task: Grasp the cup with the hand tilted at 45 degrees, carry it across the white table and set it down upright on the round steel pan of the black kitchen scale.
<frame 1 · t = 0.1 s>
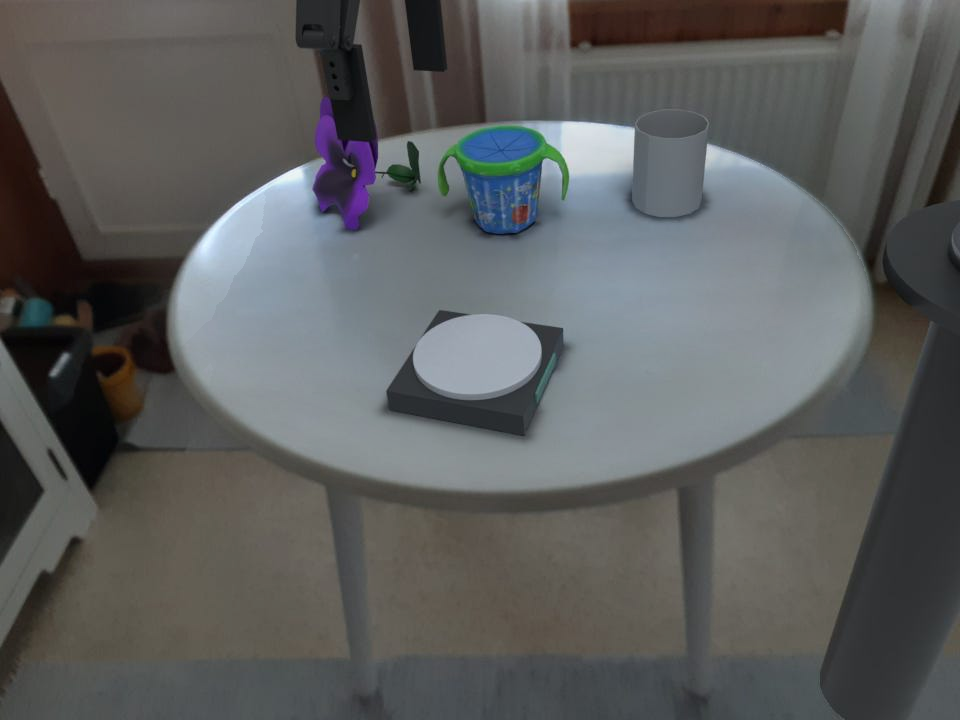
hand: (396, 102, 64), 27 cm above the table, tool pointing down, fingers open, 13 cm apart
scale: (479, 377, 80), on the table
cup: (666, 202, 105), on the table
flower: (377, 204, 110), on the table
snack cup: (505, 222, 104), on the table
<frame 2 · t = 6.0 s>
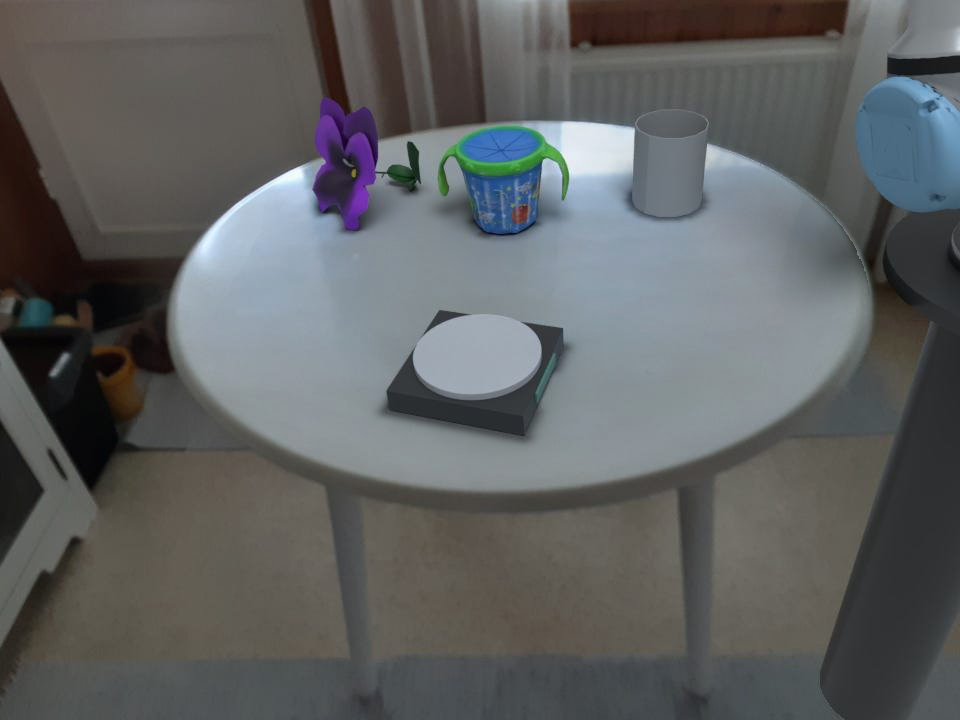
nothing on the table moved.
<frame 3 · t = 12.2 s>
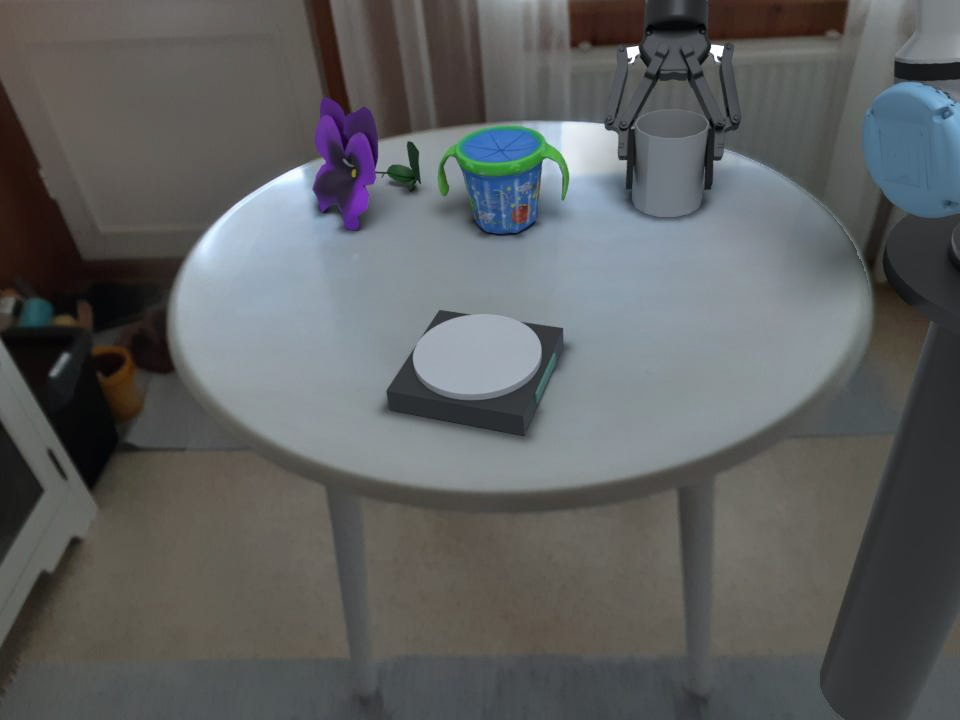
hand: (668, 186, 100), 4 cm above the table, tool tilted 45°, fingers closed on cup, 8 cm apart
cup: (666, 202, 105), on the table, touching gripper
everything else where it was.
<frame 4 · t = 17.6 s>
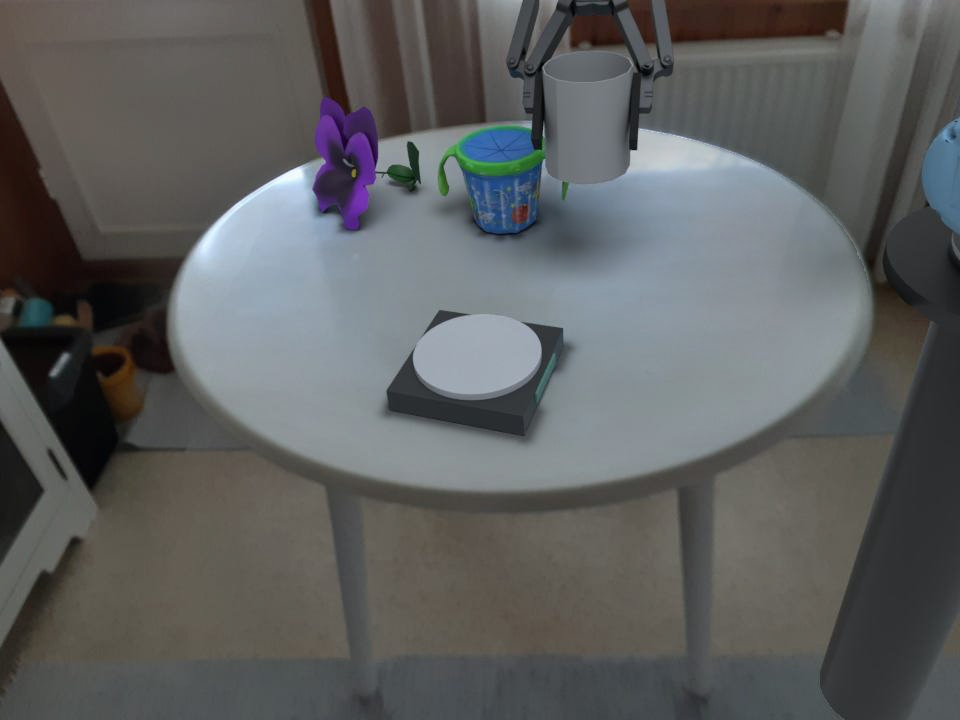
hand: (584, 144, 80), 17 cm above the table, tool tilted 45°, fingers closed on cup, 8 cm apart
cup: (587, 167, 85), point 13 cm above the table, touching gripper
everything else where it was.
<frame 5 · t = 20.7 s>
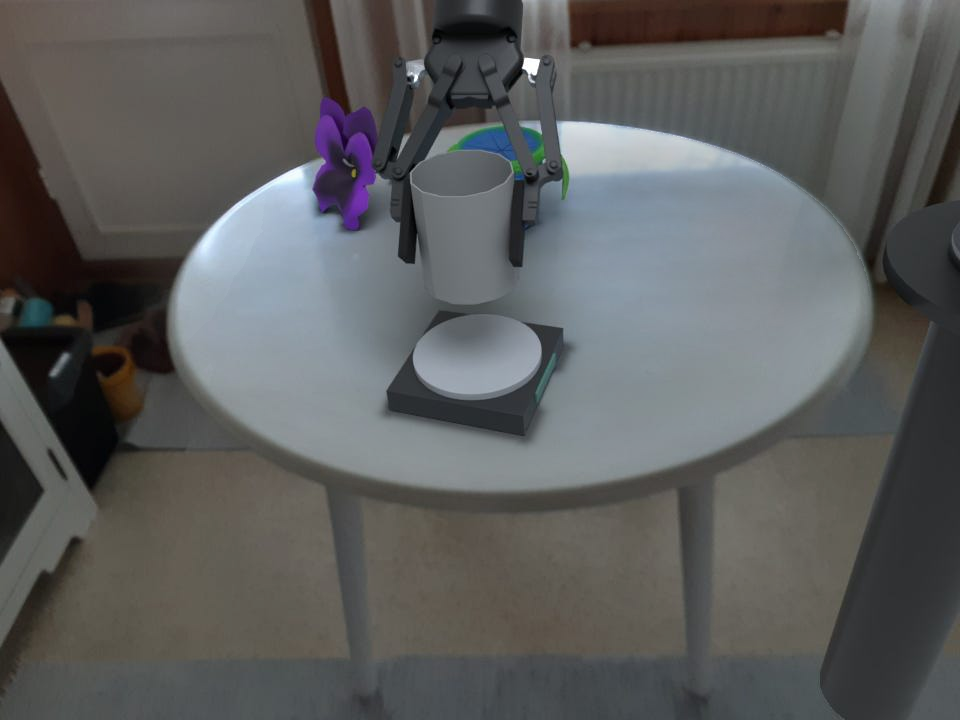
hand: (460, 261, 69), 15 cm above the table, tool tilted 45°, fingers closed on cup, 8 cm apart
cup: (471, 279, 74), point 11 cm above the table, touching gripper
everything else where it was.
when the fingers open (7 cm above the table, at t = 23.3 s): cup stays where it is, resting on scale.
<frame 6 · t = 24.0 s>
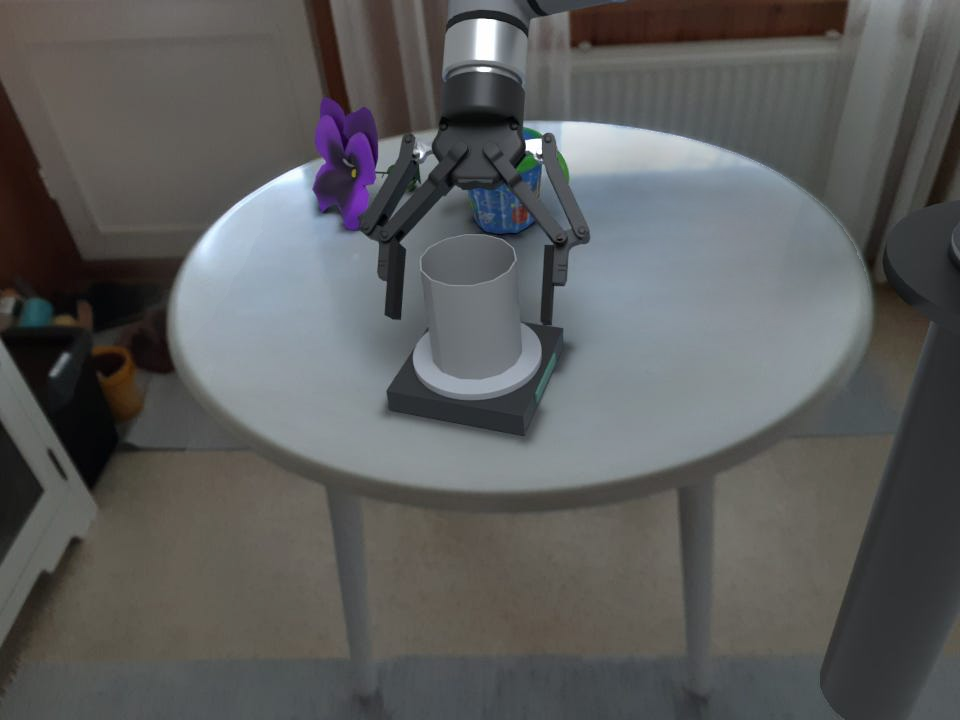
hand: (468, 320, 73), 8 cm above the table, tool tilted 45°, fingers open, 13 cm apart
cup: (477, 352, 79), point 3 cm above the table, touching scale
everything else where it was.
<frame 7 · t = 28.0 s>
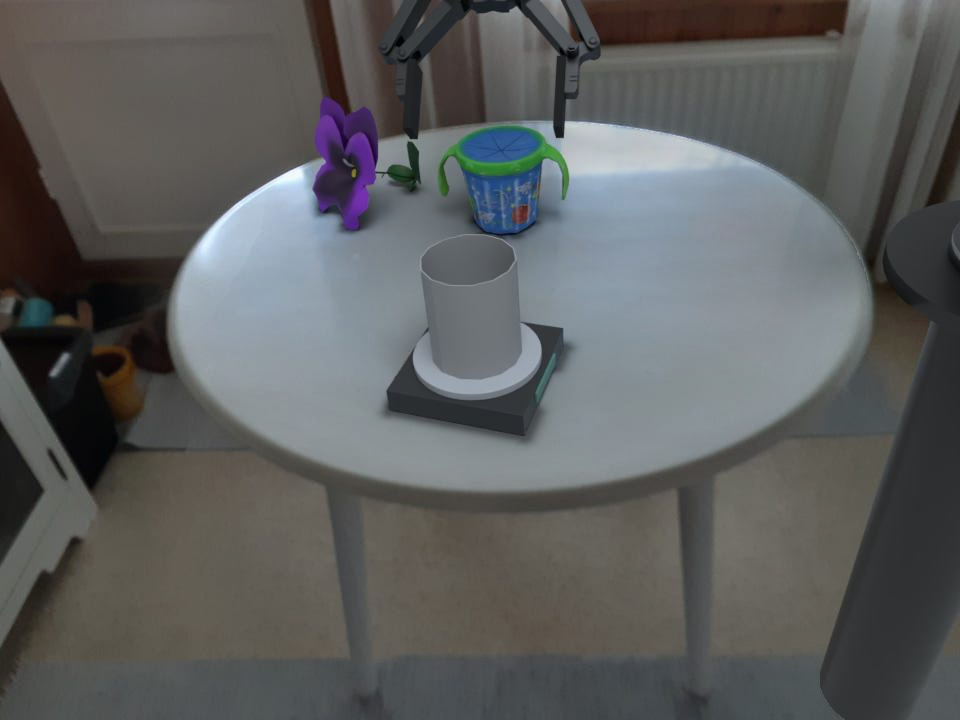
hand: (483, 133, 76), 20 cm above the table, tool tilted 45°, fingers open, 13 cm apart
nothing on the table moved.
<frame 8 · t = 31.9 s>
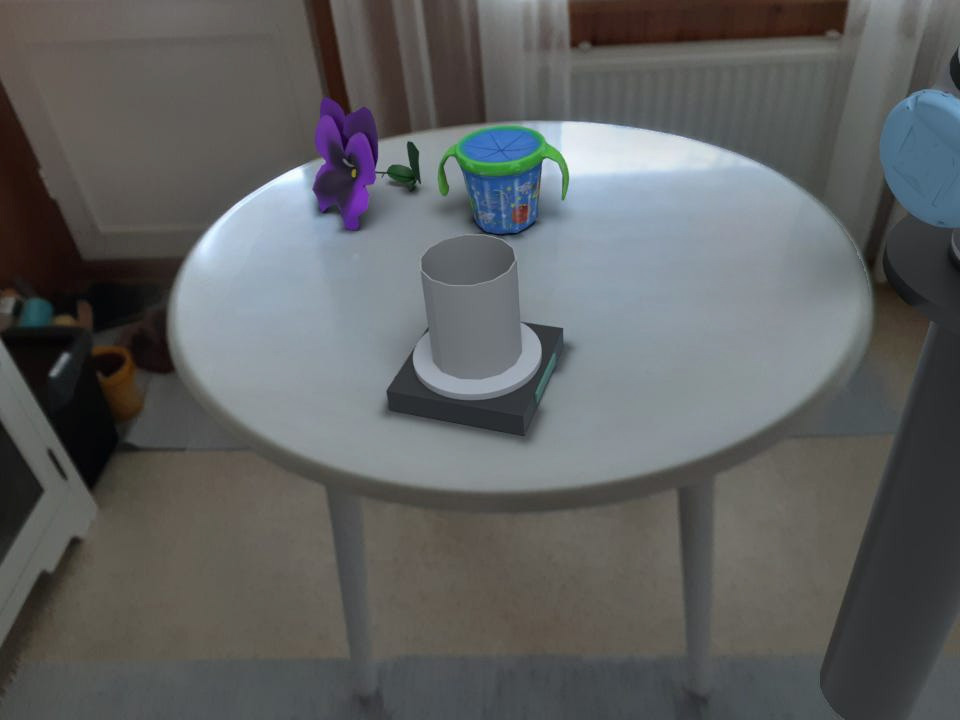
nothing on the table moved.
at the end: cup inside the target area on the scale (0.1 cm from its centre), point 3.0 cm above the scale's base; cup tilted 0°; the gripper is holding nothing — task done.
